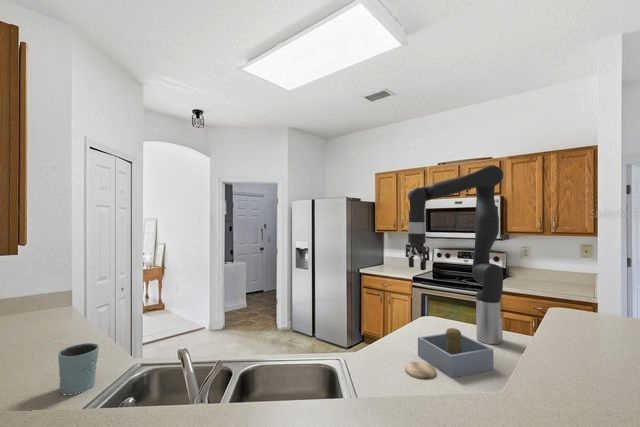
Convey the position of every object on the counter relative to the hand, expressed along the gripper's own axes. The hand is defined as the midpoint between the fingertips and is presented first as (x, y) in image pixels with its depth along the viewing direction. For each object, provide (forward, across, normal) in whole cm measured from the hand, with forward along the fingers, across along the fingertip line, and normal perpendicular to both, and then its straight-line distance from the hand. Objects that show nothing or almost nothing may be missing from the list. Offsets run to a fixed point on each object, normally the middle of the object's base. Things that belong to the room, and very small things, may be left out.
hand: (417, 268), depth 142 cm
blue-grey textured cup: (+30, -3, +126) cm, 130 cm away
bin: (+30, -26, +3) cm, 40 cm away
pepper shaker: (+29, -26, +3) cm, 39 cm away
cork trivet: (+30, -28, +19) cm, 45 cm away
